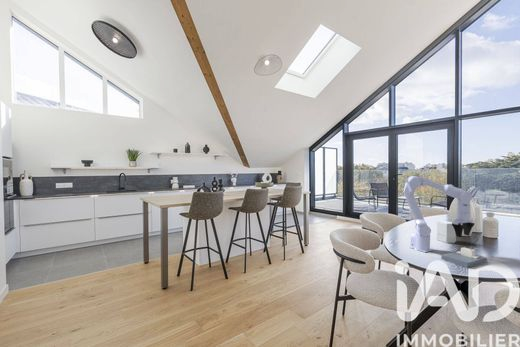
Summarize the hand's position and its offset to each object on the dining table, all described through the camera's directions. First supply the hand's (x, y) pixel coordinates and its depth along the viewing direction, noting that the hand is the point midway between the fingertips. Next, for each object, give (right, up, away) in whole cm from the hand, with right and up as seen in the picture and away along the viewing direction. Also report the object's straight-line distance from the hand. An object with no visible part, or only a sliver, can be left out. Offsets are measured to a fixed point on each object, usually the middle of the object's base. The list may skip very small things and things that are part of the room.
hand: (462, 235), depth 140 cm
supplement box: (+8, -10, +24) cm, 27 cm away
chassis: (-7, -11, -9) cm, 16 cm away
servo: (-4, -11, -8) cm, 14 cm away
